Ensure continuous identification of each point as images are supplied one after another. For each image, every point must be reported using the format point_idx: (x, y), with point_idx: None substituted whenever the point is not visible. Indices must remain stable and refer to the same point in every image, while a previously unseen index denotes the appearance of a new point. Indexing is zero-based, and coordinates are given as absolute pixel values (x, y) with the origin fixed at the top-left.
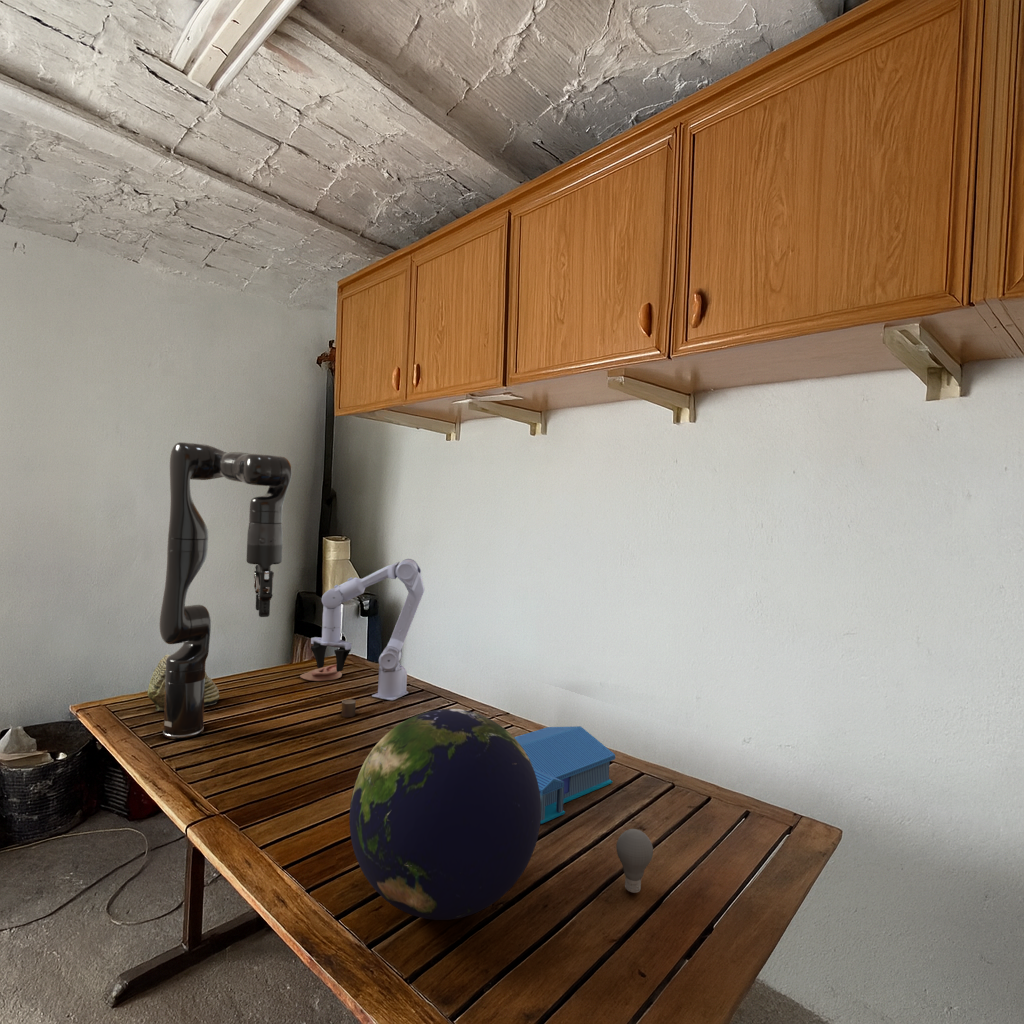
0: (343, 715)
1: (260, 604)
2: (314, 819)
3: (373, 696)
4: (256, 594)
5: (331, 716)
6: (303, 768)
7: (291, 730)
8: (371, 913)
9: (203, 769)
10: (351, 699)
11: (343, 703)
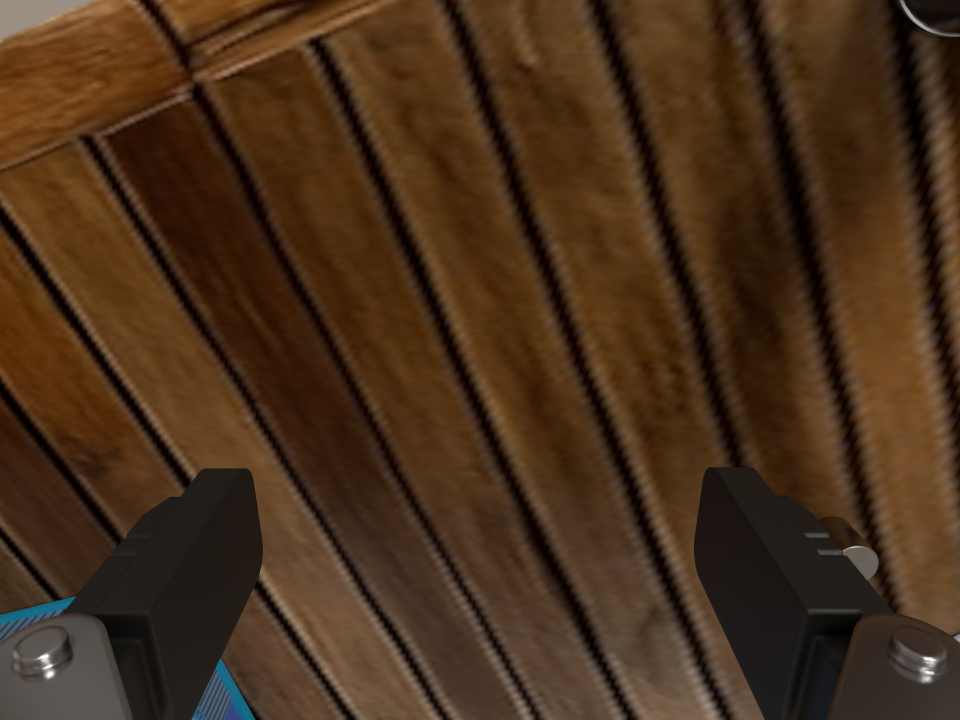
0: (821, 522)
1: (130, 579)
2: (107, 327)
3: (956, 637)
4: (836, 615)
5: (844, 487)
6: (440, 345)
7: (778, 351)
8: None
9: (547, 35)
10: (869, 578)
11: (846, 547)
